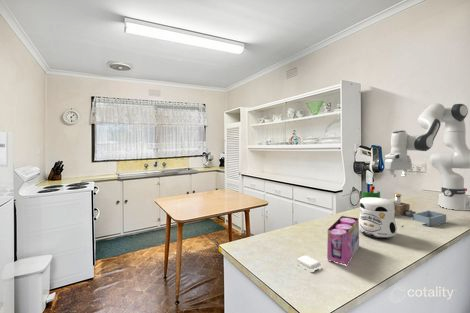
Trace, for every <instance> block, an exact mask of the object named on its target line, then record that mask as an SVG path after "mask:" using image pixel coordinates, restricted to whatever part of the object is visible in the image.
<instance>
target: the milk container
mask: <svg viewBox="0 0 470 313" xmlns="http://www.w3.org/2000/svg"><path fill="white" fill-rule="evenodd" d="M394 209H395V206H394V201H393V200H391V199H388V198H382V197H380V198H372V197H369V198H360V200H359V232H361V233H362V234H363V235H366V236H369V237H371V238H377V239H389V238H393V237H395V235H396V234H397V230H398V228H397V227H398V226H397V223H396V219H395V218H396V217H395V216H396V215H395V210H394Z"/></svg>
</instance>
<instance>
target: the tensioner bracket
mask: <svg viewBox="0 0 470 313" xmlns="http://www.w3.org/2000/svg"><path fill="white" fill-rule="evenodd" d="M393 202H394V206H395V209H394V210H395V216H398V217H400V218H401V217H403V218H406V219H413V214H415V213H417V212H416V211H413V209H411V206H410V203H406V202H401V204H400V205H398V204H395V200H394V201H393Z"/></svg>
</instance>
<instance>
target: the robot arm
mask: <svg viewBox="0 0 470 313" xmlns="http://www.w3.org/2000/svg"><path fill="white" fill-rule="evenodd" d="M468 113H469V110H468V107H467V105H465V104H464V103H455V104H449V105H445V106H444V105H443V104H442V103H437V102H436V103H431V104H430V105H428V106H427V107H426V108H425V109H424V110H423V111H422V112H421V113H420V114H419V116H418V118H417V124H418V125H419V127H420V128H423V129H425V130H426V131H425V133H423V134H420V135H419V134H417V135H410V134H408V133H407V131H406V130H395V131H393V132H392V133H391V136H390V146H391V149H390V152H389V153H387V154H385V155H384V159H385V161H384V169H385V171H389V173H390V175H391V176H390V177H391V178H396V174H395V171H402V173H401V177H406V175H407V172H408V170H411V169H412V168H413V167H412V159H411V157H410V155H408V151H420V152H427V151H429V150H430V149H431V148H432V147H433V144H434V140H435V139H436V136H437V135H438V133H439V130H440V128H441V123H444V128H443V144H444V146H446V147H448V148H451V149H454V151H453V152H450V151H449V152H445V151H444V152H442V151H441V152H434V153H432V154H431V155H430V156H429V158H428V160H429V163H430V165H431V166H432V167H433V168H435V169H436V170H437V172H439V174H440V175H441V181H442V183H441V184H442V185H441V189H440V190H441V193H439V195H438V202H437V203H436V204H439V205H440V206H441V207H440V206H439V205H438V206H439V207H440V208H442V207H444V208H443V209H446V208H447V209H446V210H452V209H454V211H465V210H470V197H469V196H468V195H467V194H466V192H467V190H468V188H466V187H465V178H464V176H463V175H461V174H460V173H458V172H455V171H453V169H470V148H469V147H468V146H467V143H466V142H467V141H466V140H467V139H466V133H467V132H466V131H467V130H466V122H465V119H466V117H467V116H468Z"/></svg>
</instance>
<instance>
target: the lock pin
mask: <svg viewBox="0 0 470 313" xmlns="http://www.w3.org/2000/svg"><path fill="white" fill-rule="evenodd" d="M393 196H394V201H395V204H398V205H400V204H401V198H402V194H400V193H394V195H393Z"/></svg>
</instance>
